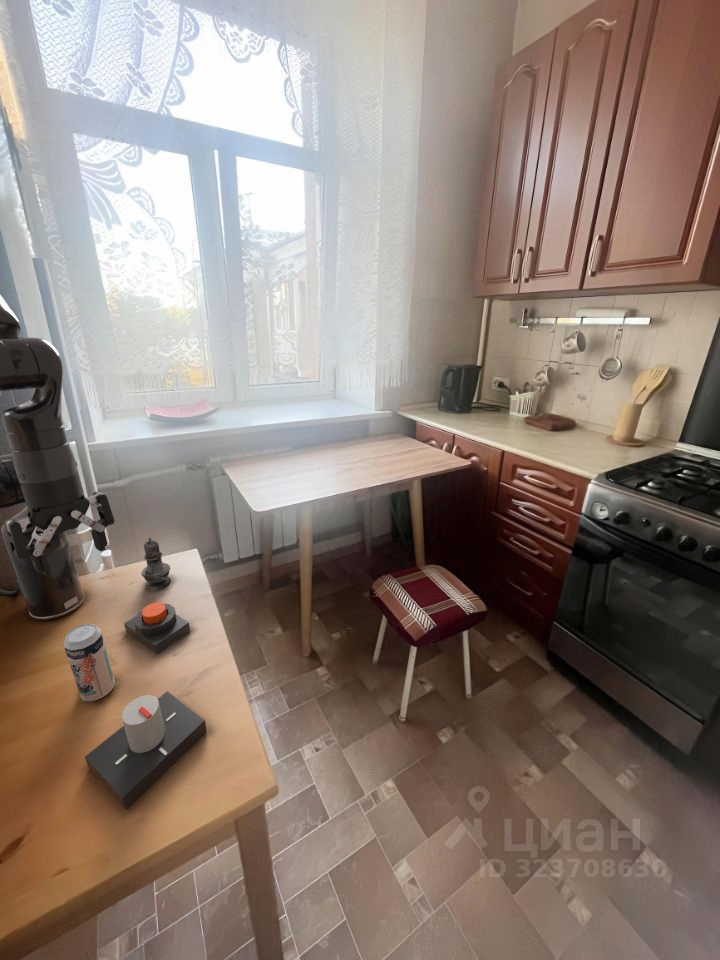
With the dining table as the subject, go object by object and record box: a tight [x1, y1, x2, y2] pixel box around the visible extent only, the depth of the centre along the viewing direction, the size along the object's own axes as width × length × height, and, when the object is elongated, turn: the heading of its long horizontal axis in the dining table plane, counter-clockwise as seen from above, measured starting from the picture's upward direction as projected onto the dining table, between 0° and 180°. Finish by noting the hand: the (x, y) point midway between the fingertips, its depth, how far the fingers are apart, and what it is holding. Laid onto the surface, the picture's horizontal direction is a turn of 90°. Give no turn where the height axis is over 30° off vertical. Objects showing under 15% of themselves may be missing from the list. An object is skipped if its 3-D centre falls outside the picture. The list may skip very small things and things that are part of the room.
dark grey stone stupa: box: [140, 537, 172, 591], centre depth 88 cm, size 6×6×12 cm
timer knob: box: [121, 694, 165, 753], centre depth 53 cm, size 4×4×6 cm
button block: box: [123, 603, 191, 655], centre depth 75 cm, size 10×7×4 cm
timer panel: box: [84, 691, 208, 811], centre depth 55 cm, size 9×12×3 cm
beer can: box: [63, 623, 116, 702], centre depth 62 cm, size 5×5×12 cm
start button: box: [141, 602, 167, 624], centre depth 74 cm, size 4×4×2 cm
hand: (74, 560), depth 67 cm, fingers open, 8 cm apart
